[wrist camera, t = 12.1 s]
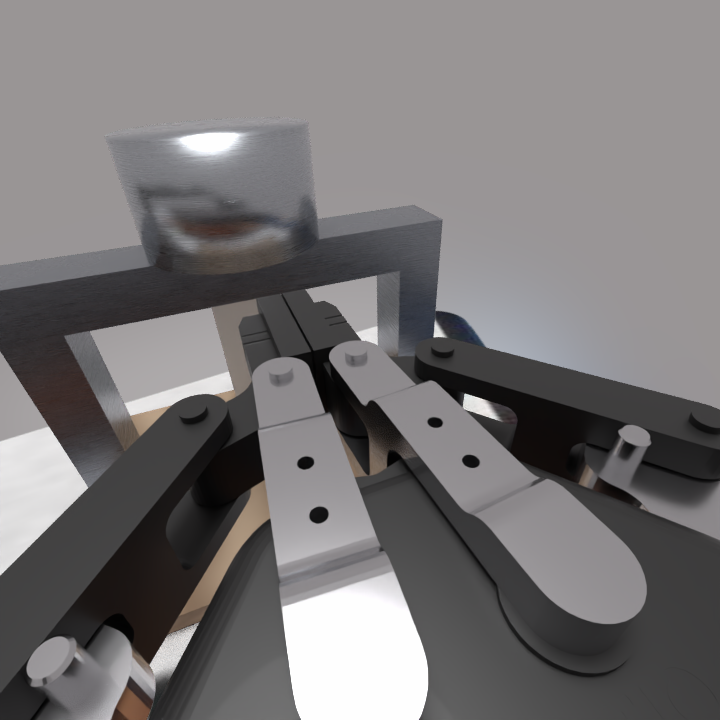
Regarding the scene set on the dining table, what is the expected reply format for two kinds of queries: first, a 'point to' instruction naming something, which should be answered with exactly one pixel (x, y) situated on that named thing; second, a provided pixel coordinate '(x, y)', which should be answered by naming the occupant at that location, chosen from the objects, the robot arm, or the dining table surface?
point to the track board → (240, 532)
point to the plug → (234, 340)
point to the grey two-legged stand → (202, 265)
